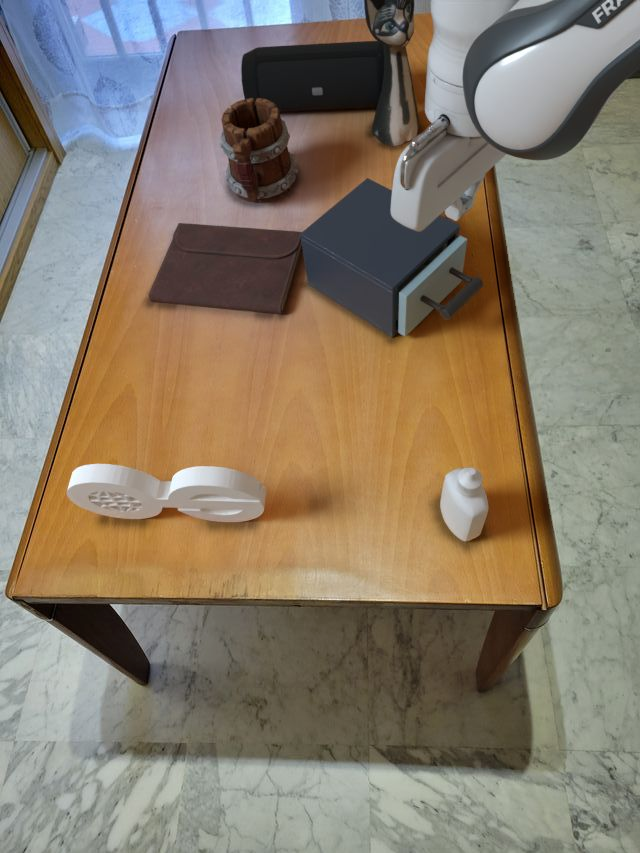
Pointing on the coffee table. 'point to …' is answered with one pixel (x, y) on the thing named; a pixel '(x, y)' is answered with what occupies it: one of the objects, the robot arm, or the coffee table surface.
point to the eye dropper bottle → (464, 503)
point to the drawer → (435, 287)
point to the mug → (257, 151)
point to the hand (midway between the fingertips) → (459, 211)
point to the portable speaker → (315, 75)
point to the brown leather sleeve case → (228, 268)
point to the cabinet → (368, 253)
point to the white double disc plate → (167, 492)
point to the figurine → (394, 70)
